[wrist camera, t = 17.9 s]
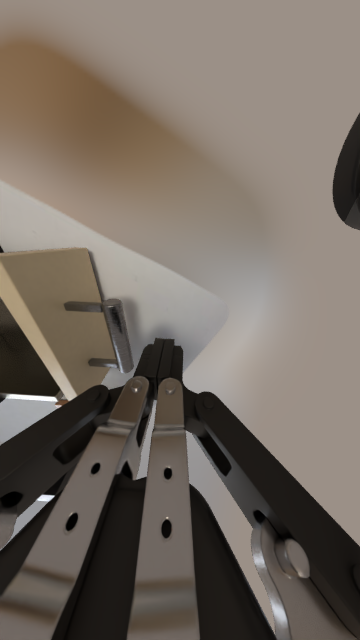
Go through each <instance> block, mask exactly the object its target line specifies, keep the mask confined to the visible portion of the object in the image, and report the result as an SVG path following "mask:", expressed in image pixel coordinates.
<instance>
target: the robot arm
mask: <svg viewBox="0 0 360 640" xmlns="http://www.w3.org/2000/svg"><path fill="white" fill-rule="evenodd" d="M174 341H175V340H174V339H164V338H155V341H154V344H148V345H147V346H146V347H145V348H144V350H143V353H142V355H141V358H140V360H139V363H138V366H137V368H136V371H135V373H134V376H133V378H131V379H130V380H129V381H127V383H126V384H125V385H124V386H122V387H118V388H114V389H110V390H108V388H107V387H106V386H104V385H96V386H93V387H91V388H89V389H88V390H86V391H84V392H83V393H81V394H80V395H78V396H77V397H75V398H73V399H72V400H70V401H69V402H67V403H66V404H64V405H62V406H61V407H59V408H58V409H56V410H55V411H53V412H52V413H50V414H48V415H47V416H45V417H44V418H42V419H41V420H39V421H37V422H36V423H34V424H33V425H31V426H30V427H28V428H27V429H25V430H23V431H22V432H20V433H19V434H17V435H16V436H14V437H12V438H11V439H9V440H8V441H6V442H5V443H3V444H2V445H0V549H1V548H3V547H4V546H5V545H6V543H7V542H8V541H9V539H10V538H11V536H12V534H13V531H14V525H15V522H16V519H17V517H19V515H21V514H22V513H23V512H24V511H25V510H26V509H27V508H28V507H29V506H30V505H32V504H33V503H34V502H35V501H36V500H37V499H38V498H39V497H40V496H41V495H42V494H44V493H45V492H46V491H47V490H48V489H49V488H50V487H51V486H52V485H53V484H54V483H55V482H57V481H58V480H59V479H60V478H61V477H62V476H63V475H64V474H65V473H66V472H67V471H69V470H70V469H71V468H72V467H73V466H74V465H75V464H76V463H77V462H78V461H79V462H78V463H77V465H76V467H75V469H74V471H73V473H72V475H71V476H70V478H69V480H68V482H67V484H66V486H65V487H64V488H63V489H62V490H61V491H60V492H59V493H58V494H56V495H55V496H54V497H53V498H52V499H51V500H50V501H49V502H48V503H47V504H46V505H45V506H44V507H43V508H42V509H41V510H40V511H39V512H38V513H37V514H36V515H35V516H34V517H33V518H32V520H31V521H30V522H28V523H27V524H26V525H25V526H24V527H23V528H22V529H21V530H20V531H19V533H18V534H17V535H15V537H14V538H13V539H12V540H11V541H10V542H9V543H8V544H7V545H6V546H5V547H4V548H3V549H2V550H1V551H0V640H360V546H359V545H358V544H357V543H356V542H355V541H354V540H353V539H352V538H351V537H350V536H349V535H348V534H347V533H346V532H345V531H344V530H343V529H342V528H341V526H340V525H339V524H338V523H337V522H336V521H335V520H334V519H333V518H332V517H331V516H330V515H329V514H328V513H327V512H326V511H325V510H324V509H323V508H322V506H321V505H319V503H318V502H317V501H316V500H315V499H314V498H313V497H312V496H311V495H310V494H309V493H308V492H307V491H306V490H305V489H304V488H303V487H302V485H300V483H299V482H298V481H297V480H296V479H295V478H294V477H293V476H292V475H291V474H290V473H289V472H288V471H287V470H286V469H285V468H284V467H283V466H282V464H281V463H280V462H279V461H278V460H277V459H276V458H275V457H274V456H273V455H272V454H271V453H270V452H269V451H268V450H267V449H266V448H265V447H264V446H263V444H262V443H261V442H260V441H259V440H258V439H257V438H256V437H255V436H254V435H253V434H252V433H251V432H250V431H249V430H248V429H247V428H246V427H245V426H244V425H243V423H241V421H240V420H239V419H238V418H237V417H236V416H235V415H234V414H233V413H232V412H231V411H230V410H229V409H228V408H227V407H226V406H225V405H224V404H223V402H221V400H220V399H219V398H218V397H217V396H216V395H214V394H213V393H211V392H201V393H199V394H197V393H194V392H192V391H190V390H188V389H187V388H186V387H185V386H184V384H183V381H182V374H183V349H182V348H181V346H174ZM154 400H157V404H156V413H155V424H154V429H153V431H152V437H151V446H150V454H149V464H148V472H147V477H144V478H141V479H138V480H136V477H137V474H138V470H139V466H140V460H141V452H142V447H143V443H144V439H145V435H146V431H147V428H148V425H149V421H150V417H151V413H152V406H153V401H154ZM186 430H187V431H188V432H190V433H192V435H193V437H194V438H195V439H196V441H197V443H198V444H199V446H200V447H201V449H202V450H203V452H204V453H205V455H206V457H207V458H208V460H209V461H210V463H211V464H212V466H213V467H214V469H215V470H216V472H217V474H218V475H219V477H220V478H221V480H222V481H223V483H224V484H225V486H226V487H227V489H228V491H229V492H230V493H231V495H232V497H233V498H234V500H235V501H236V503H237V504H238V506H239V507H240V509H241V510H242V512H243V514H244V515H245V517H246V518H247V520H248V521H249V523H250V524H251V526H252V528H253V531H252V534H251V549H252V555H253V559H254V563H255V566H256V569H257V571H258V574H259V575H260V578H261V580H262V582H263V584H264V586H265V589H266V591H267V594H268V597H269V600H270V603H271V607H272V612H273V617H274V623H275V634H276V635H275V634H274V632H273V630H272V628H271V626H270V624H269V623H268V620H267V618H266V616H265V615H264V613H263V611H262V609H261V607H260V605H259V603H258V601H257V599H256V597H255V595H254V593H253V591H252V589H251V587H250V585H249V583H248V581H247V579H246V577H245V575H244V573H243V571H242V569H241V567H240V566H239V564H238V561H237V559H236V558H235V556H234V554H233V552H232V550H231V548H230V546H229V544H228V542H227V540H226V538H225V536H224V534H223V532H222V530H221V528H220V526H219V524H218V522H217V520H216V518H215V516H214V514H213V512H212V510H211V509H210V507H209V505H208V503H207V502H206V500H205V499H204V497H203V496H202V495H201V494H200V492H199V491H198V490H197V489H196V488H195V487H193V486H192V485H191V484H189V475H188V459H187V442H186Z"/></svg>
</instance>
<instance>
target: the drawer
mask: <svg viewBox="0 0 360 640" xmlns="http://www.w3.org/2000/svg"><path fill="white" fill-rule="evenodd" d="M133 367H134V364H133V358H132V353H131V348H130V343H129V338H128V333H127V327H126V322H125V317H124V312H123V307H122V302H121V300H119V299H109V300H105V301H103V302H101V298H100V294H99V291H98V287H97V283H96V280H95V276H94V272H93V269H92V265H91V261H90V258H89V254H88V250H87V248H76V247H73V248H60V249H47V250H34V251H21V252H8V253H0V398H14V399H28V400H43V401H59V400H60V399H61V398H62V397H63V395H65V396H66V398H67V399H68V401H70V400H72V399H73V398H75V397H77V396H78V395H80V394H81V393H83V392H84V391H86V390H88V389H89V388H91V387H93V386H96V385H100V384H101V383H102V381H103V379H104V378H105V376H106V374H107V373H108V371H109V369H110V368H119V371H120V372H121V373H128V372H130V371H131V370H132V369H133Z"/></svg>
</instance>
